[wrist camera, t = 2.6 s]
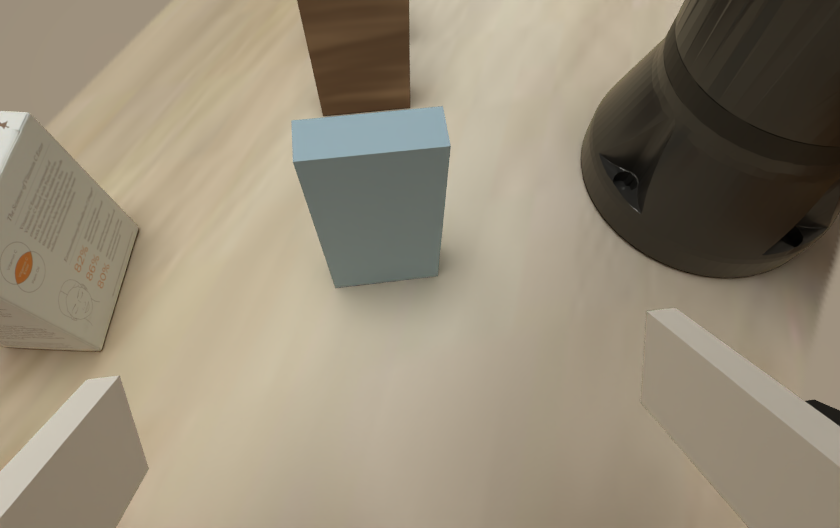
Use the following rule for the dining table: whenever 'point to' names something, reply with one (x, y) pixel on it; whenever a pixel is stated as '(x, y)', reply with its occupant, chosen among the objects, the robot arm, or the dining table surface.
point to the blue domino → (375, 191)
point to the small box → (55, 244)
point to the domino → (358, 53)
